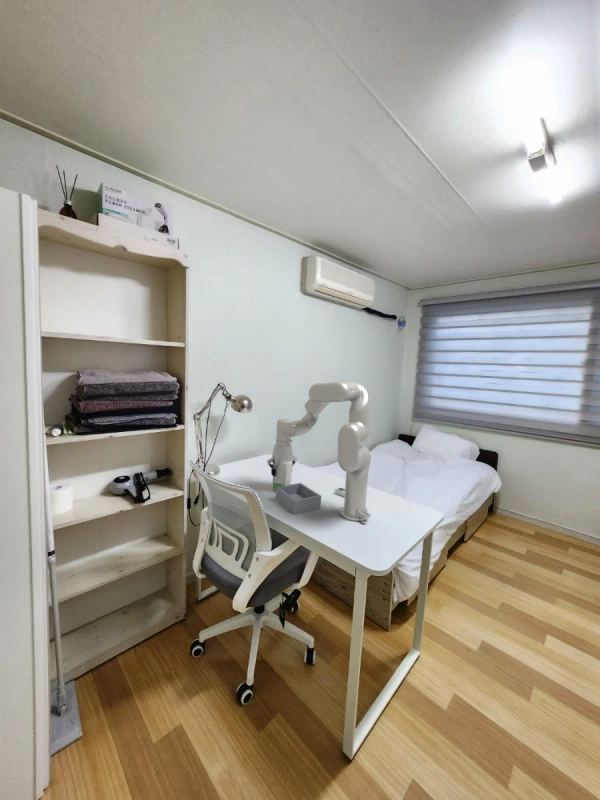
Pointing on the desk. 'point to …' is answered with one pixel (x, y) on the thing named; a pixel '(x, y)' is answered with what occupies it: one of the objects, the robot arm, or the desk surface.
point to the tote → (298, 498)
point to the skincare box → (282, 475)
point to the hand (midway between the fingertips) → (281, 474)
